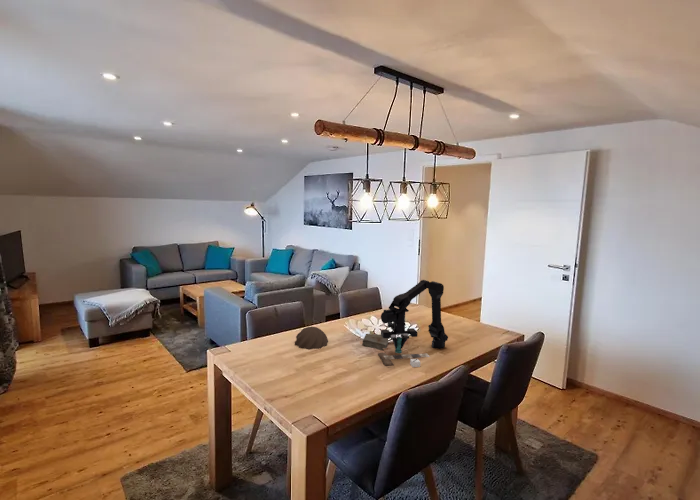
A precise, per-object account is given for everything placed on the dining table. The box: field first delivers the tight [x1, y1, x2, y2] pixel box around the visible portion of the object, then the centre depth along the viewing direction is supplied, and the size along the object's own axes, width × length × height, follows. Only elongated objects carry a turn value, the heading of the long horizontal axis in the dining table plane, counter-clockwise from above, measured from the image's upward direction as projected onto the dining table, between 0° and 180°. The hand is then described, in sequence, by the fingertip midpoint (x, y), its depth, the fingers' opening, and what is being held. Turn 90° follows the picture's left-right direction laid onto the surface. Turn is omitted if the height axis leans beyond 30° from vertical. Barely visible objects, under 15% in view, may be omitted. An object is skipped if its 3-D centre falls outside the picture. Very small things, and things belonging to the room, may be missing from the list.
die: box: [409, 358, 421, 368], centre depth 190 cm, size 4×4×4 cm
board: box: [377, 351, 431, 367], centre depth 201 cm, size 28×14×1 cm, turn 101°
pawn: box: [394, 336, 403, 354], centre depth 199 cm, size 4×4×8 cm
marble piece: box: [361, 333, 390, 351], centre depth 220 cm, size 17×15×4 cm
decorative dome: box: [294, 326, 329, 350], centre depth 220 cm, size 19×20×10 cm
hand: (398, 348), depth 199 cm, fingers closed on pawn, 3 cm apart
